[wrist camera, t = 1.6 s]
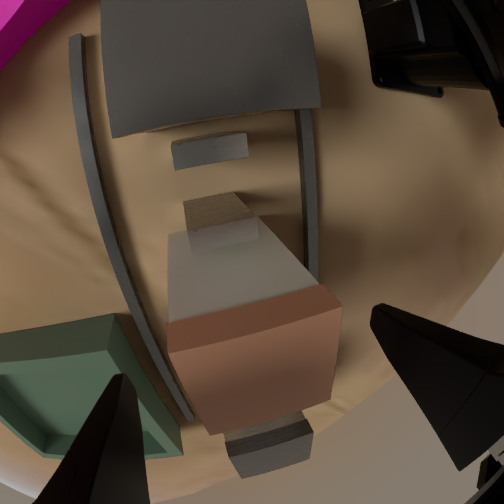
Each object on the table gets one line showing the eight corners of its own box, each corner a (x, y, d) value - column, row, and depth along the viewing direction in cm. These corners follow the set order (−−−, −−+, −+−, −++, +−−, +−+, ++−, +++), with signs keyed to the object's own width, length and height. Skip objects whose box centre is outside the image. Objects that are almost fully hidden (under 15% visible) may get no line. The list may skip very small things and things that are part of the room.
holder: (291, 6, 10) (376, -52, 4) (310, 384, 22) (346, 448, 15) (72, 37, 8) (4, -19, 2) (188, 417, 20) (202, 491, 13)
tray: (114, 313, 14) (107, 350, 11) (179, 426, 20) (183, 455, 17) (-35, 339, 11) (-49, 364, 9) (46, 433, 17) (43, 457, 15)
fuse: (258, 214, 14) (342, 306, 7) (266, 290, 16) (330, 399, 9) (166, 233, 13) (167, 353, 6) (187, 309, 15) (209, 435, 8)
